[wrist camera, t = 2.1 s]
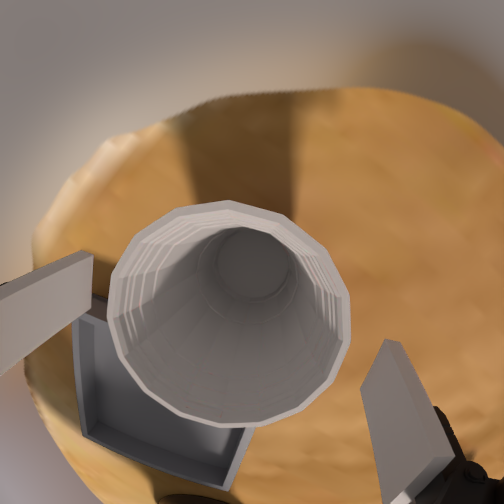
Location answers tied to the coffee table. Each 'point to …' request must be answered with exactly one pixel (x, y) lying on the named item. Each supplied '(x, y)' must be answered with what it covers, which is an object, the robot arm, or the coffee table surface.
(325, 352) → the plastic cup
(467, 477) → the robot arm
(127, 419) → the bin
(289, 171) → the coffee table surface
